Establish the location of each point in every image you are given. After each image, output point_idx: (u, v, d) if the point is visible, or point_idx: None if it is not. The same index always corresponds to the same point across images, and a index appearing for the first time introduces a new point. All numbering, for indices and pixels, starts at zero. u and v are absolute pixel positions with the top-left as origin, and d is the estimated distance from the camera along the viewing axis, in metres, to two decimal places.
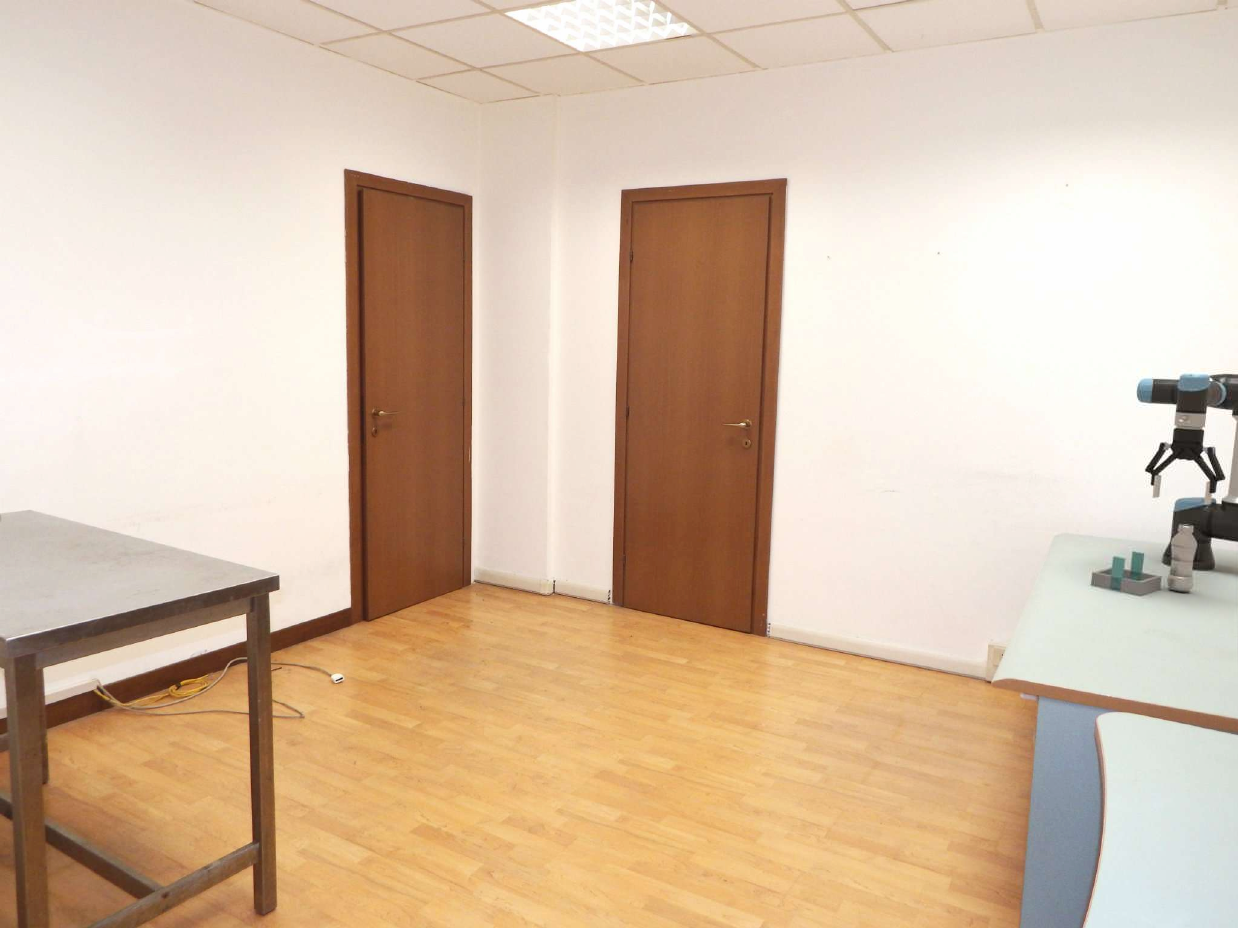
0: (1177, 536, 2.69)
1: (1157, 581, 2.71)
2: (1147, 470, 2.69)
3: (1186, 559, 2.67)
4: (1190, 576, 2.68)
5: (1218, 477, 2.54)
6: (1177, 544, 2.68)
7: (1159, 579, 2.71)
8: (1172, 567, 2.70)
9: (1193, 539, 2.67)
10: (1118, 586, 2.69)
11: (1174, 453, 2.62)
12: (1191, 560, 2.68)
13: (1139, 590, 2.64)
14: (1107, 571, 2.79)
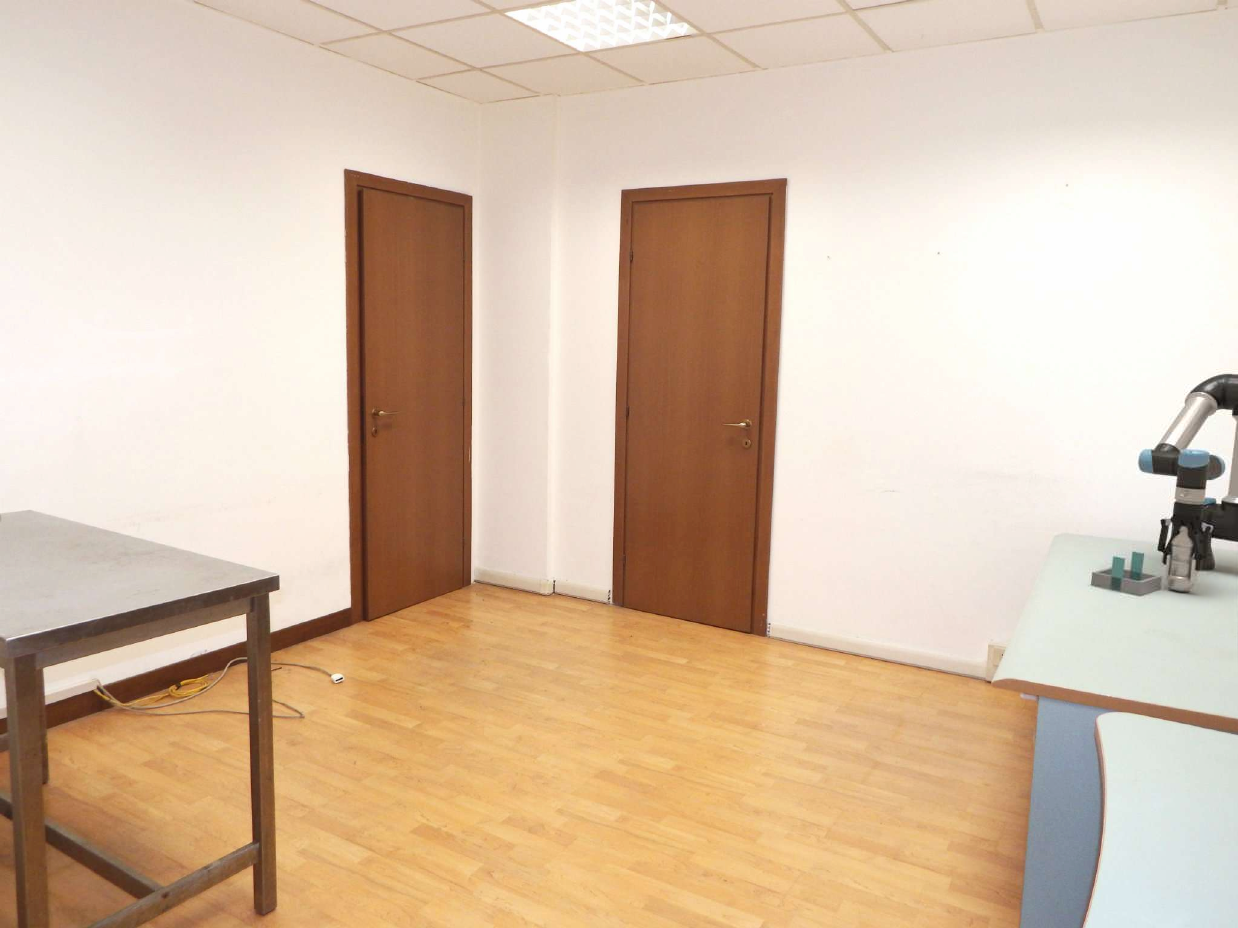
0: (1177, 536, 2.69)
1: (1157, 581, 2.71)
2: (1159, 549, 2.74)
3: (1186, 559, 2.68)
4: (1190, 576, 2.68)
5: (1204, 555, 2.64)
6: (1177, 544, 2.68)
7: (1159, 579, 2.71)
8: (1172, 567, 2.70)
9: None
10: (1118, 586, 2.69)
11: (1176, 527, 2.69)
12: (1191, 560, 2.68)
13: (1139, 590, 2.64)
14: (1107, 571, 2.79)
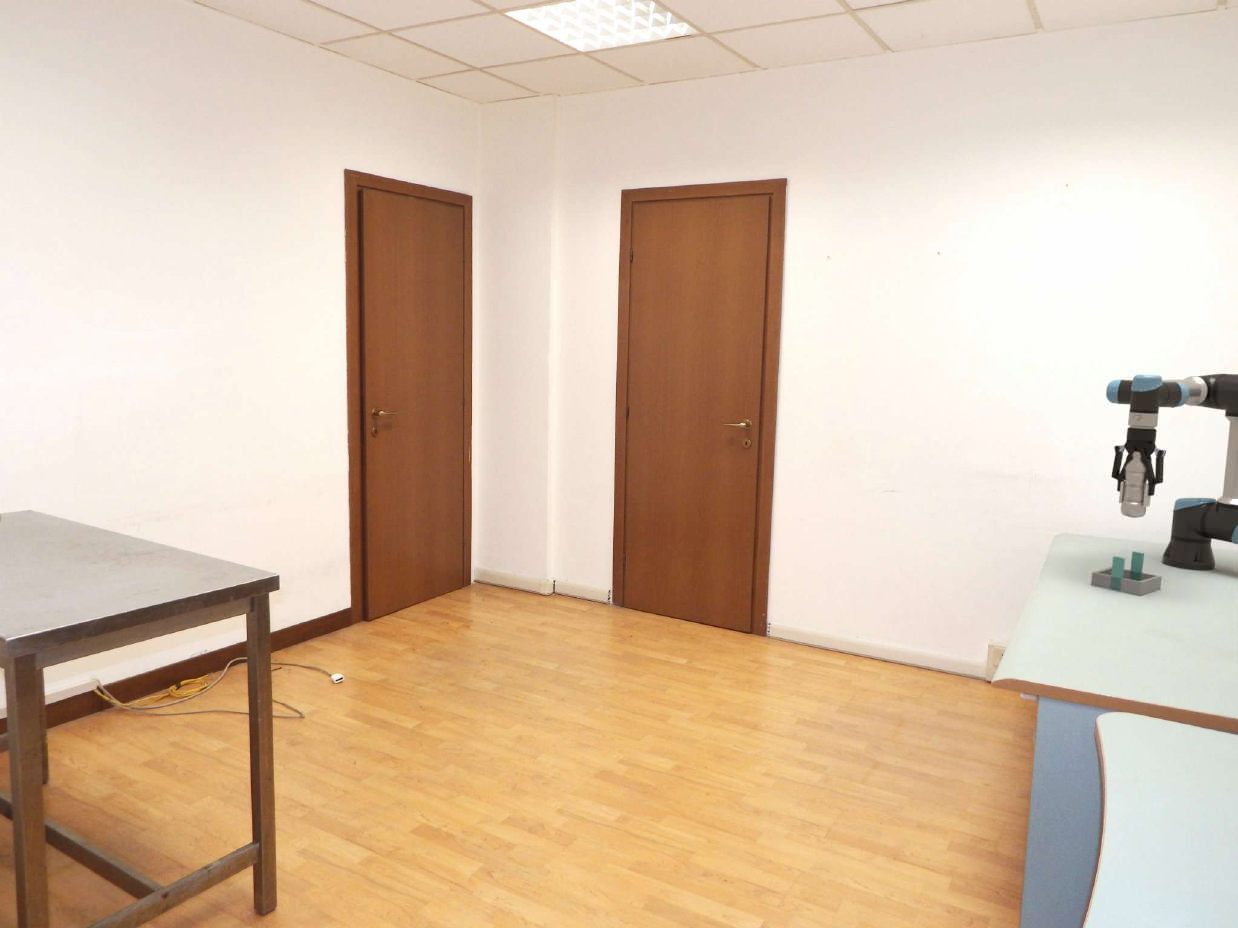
0: (1130, 462, 2.69)
1: (1157, 581, 2.71)
2: (1113, 476, 2.73)
3: (1139, 484, 2.67)
4: (1143, 501, 2.68)
5: (1156, 480, 2.64)
6: (1130, 469, 2.68)
7: (1159, 579, 2.71)
8: (1125, 493, 2.70)
9: None
10: (1118, 586, 2.69)
11: (1129, 453, 2.69)
12: (1144, 485, 2.67)
13: (1139, 590, 2.64)
14: (1107, 571, 2.79)
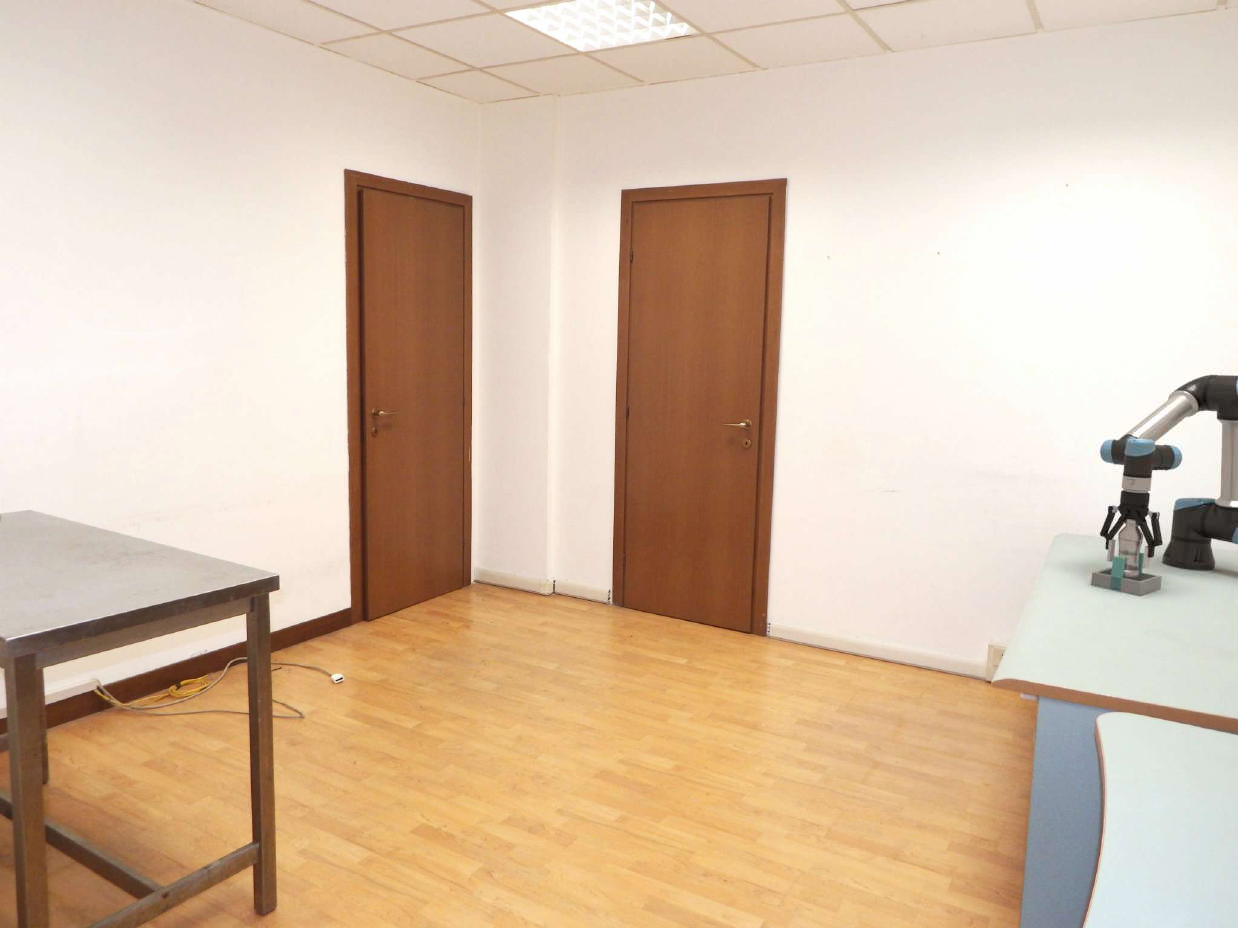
0: (1124, 529, 2.71)
1: (1157, 581, 2.71)
2: (1102, 534, 2.77)
3: (1132, 552, 2.70)
4: (1136, 569, 2.71)
5: (1156, 542, 2.65)
6: (1123, 537, 2.70)
7: (1159, 579, 2.71)
8: None
9: (1139, 532, 2.69)
10: (1118, 586, 2.69)
11: (1122, 515, 2.72)
12: (1137, 553, 2.70)
13: (1139, 590, 2.64)
14: (1107, 571, 2.79)
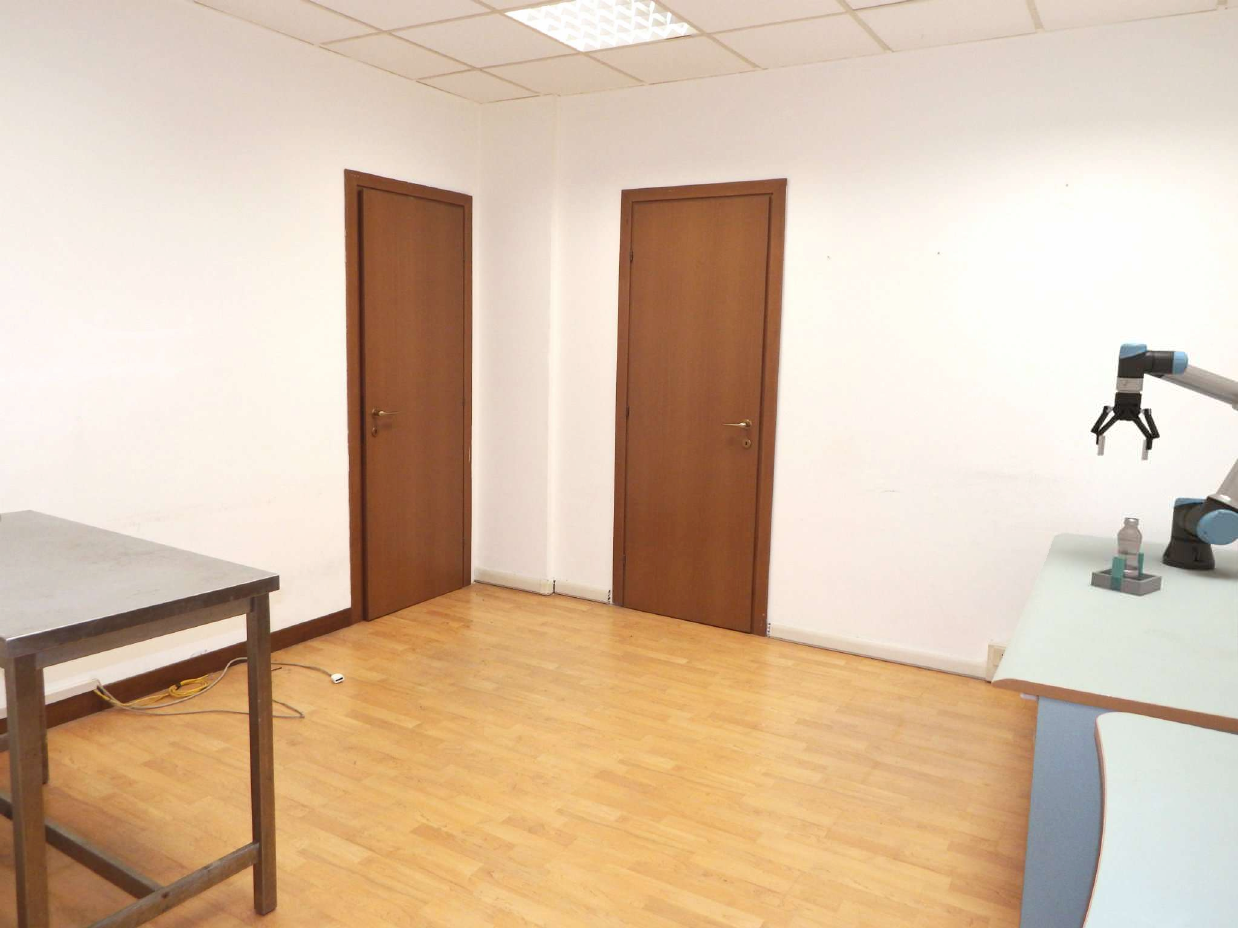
0: (1123, 529, 2.71)
1: (1157, 581, 2.71)
2: (1092, 431, 2.99)
3: (1132, 552, 2.70)
4: (1136, 569, 2.71)
5: (1153, 435, 2.85)
6: (1122, 537, 2.71)
7: (1159, 579, 2.71)
8: None
9: (1138, 532, 2.69)
10: (1118, 586, 2.69)
11: (1115, 415, 2.93)
12: (1136, 553, 2.70)
13: (1139, 590, 2.64)
14: (1107, 571, 2.79)
